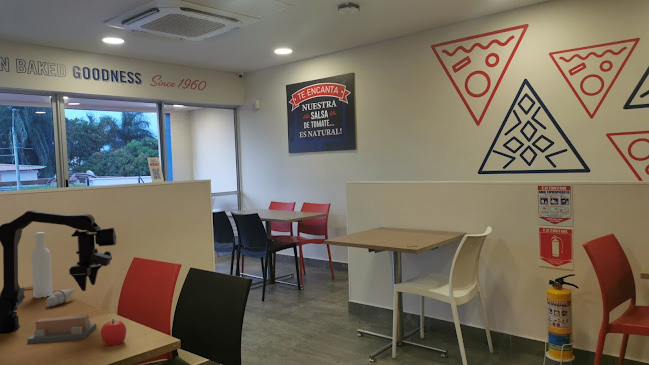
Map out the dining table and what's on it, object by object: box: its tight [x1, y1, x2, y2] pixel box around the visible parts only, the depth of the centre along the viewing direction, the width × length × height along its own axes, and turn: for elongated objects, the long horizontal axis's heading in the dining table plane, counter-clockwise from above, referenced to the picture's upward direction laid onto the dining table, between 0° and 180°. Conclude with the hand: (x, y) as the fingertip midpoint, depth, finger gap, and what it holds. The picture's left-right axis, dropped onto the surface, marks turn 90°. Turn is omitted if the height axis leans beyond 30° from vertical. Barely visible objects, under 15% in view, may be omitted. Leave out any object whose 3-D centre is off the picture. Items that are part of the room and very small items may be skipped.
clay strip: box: [35, 314, 90, 334], centre depth 165 cm, size 16×4×4 cm, turn 101°
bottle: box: [31, 231, 54, 299], centre depth 220 cm, size 8×8×30 cm
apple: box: [100, 318, 127, 346], centre depth 155 cm, size 8×8×8 cm
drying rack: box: [26, 319, 97, 344], centre depth 165 cm, size 18×12×4 cm, turn 97°
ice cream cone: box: [46, 288, 77, 307], centre depth 208 cm, size 6×6×15 cm
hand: (88, 287), depth 179 cm, fingers open, 9 cm apart
